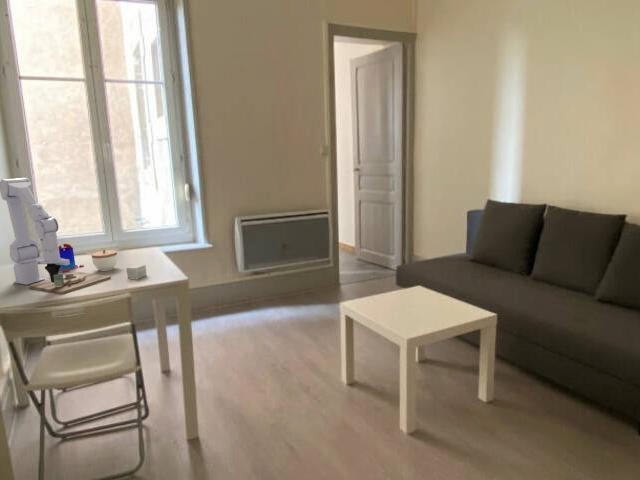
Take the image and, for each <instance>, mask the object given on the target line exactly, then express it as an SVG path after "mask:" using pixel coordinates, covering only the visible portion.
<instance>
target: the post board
mask: <svg viewBox="0 0 640 480" xmlns="http://www.w3.org/2000/svg"><path fill="white" fill-rule="evenodd" d="M64 274H65V275H64ZM64 274H63V276H66V280H68V284H65V285H64V286H62V287H55V283H52V282H51V279H48V280H42V281H38V282H35V283H31V284H28V285H27V287H28V289H30V290H31V289H32V290H38V291H43V292H47V293H53V294H58V295H65V294H67V293H70V292H75V291H76V290H77V291H78V290H79V289H83V288H86V287H90V286H92V285H95V284H98V283H102V282H104V281H108V280H111V279H112V276H111V275H105V274H104V275H103V274H97V273H96V274H95V273H90V272H85V271H84V272H83V271H76V272H67V273H64ZM74 274H83V275H85V277H86V278H85V279H84V280H82V281H79V282H75V283H71V279H74Z"/></svg>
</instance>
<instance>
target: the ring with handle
mask: <svg viewBox="0 0 640 480" xmlns="http://www.w3.org/2000/svg"><path fill="white" fill-rule="evenodd" d="M53 277H54V283H55V287H62V286H64V285H65V284H68V280H66V276H64V273H63V272H59V273H56V274H54V275H53ZM85 278H86V277H85V275H83V274H74V279H71V283H75V282H79V281H82V280H84V279H85Z"/></svg>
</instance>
